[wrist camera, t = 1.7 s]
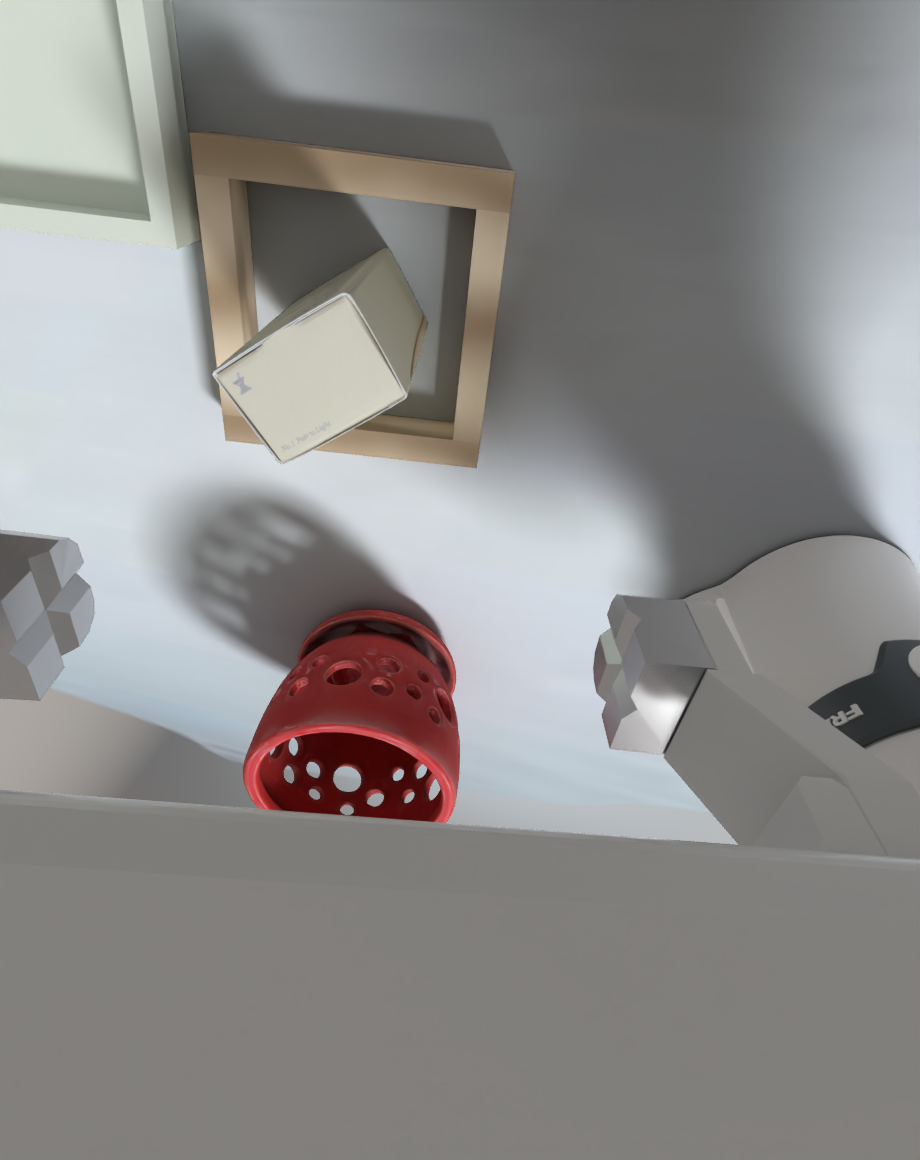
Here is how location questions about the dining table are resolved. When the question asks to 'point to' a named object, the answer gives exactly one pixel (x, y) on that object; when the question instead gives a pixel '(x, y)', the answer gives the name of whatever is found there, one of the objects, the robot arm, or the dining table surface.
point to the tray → (94, 122)
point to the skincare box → (329, 359)
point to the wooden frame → (242, 159)
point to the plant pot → (362, 721)
